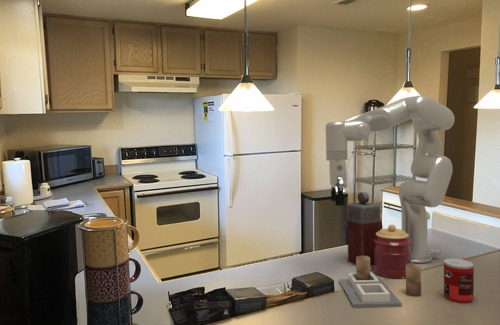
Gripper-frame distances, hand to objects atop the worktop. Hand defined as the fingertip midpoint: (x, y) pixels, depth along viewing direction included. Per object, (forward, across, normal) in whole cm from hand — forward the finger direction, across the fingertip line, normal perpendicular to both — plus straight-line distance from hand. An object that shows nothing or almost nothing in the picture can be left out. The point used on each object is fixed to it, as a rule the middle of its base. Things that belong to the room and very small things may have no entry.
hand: (337, 203), depth 142 cm
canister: (+26, -1, -19) cm, 32 cm away
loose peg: (+26, -20, -20) cm, 38 cm away
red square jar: (+26, +11, -12) cm, 31 cm away
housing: (+26, -19, -6) cm, 33 cm away
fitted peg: (+25, -14, -6) cm, 29 cm away
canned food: (+26, -23, -32) cm, 47 cm away
